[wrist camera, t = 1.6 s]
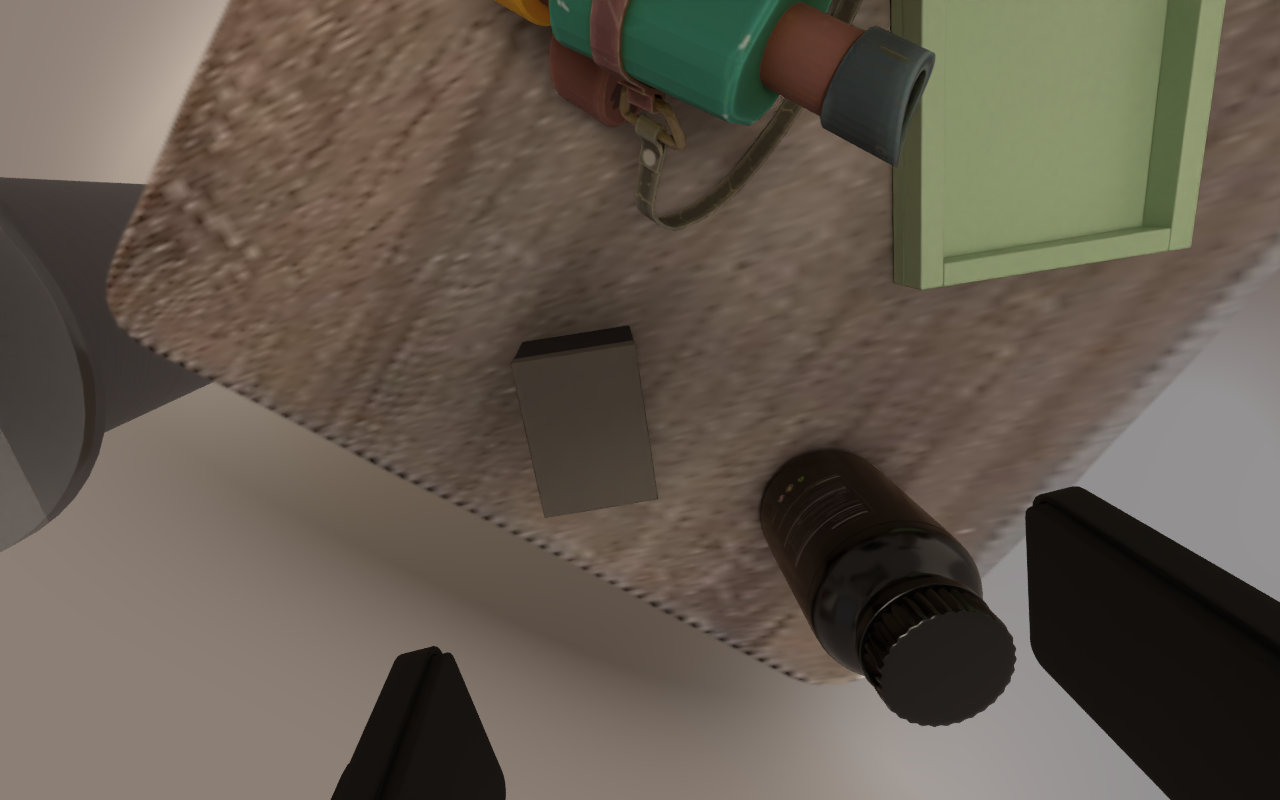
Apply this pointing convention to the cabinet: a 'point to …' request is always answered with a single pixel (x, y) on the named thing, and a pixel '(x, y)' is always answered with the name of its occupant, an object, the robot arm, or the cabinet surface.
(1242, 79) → the cabinet surface
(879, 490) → the supplement bottle
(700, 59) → the binoculars
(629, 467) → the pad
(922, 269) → the rectangular tray
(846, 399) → the cabinet surface
